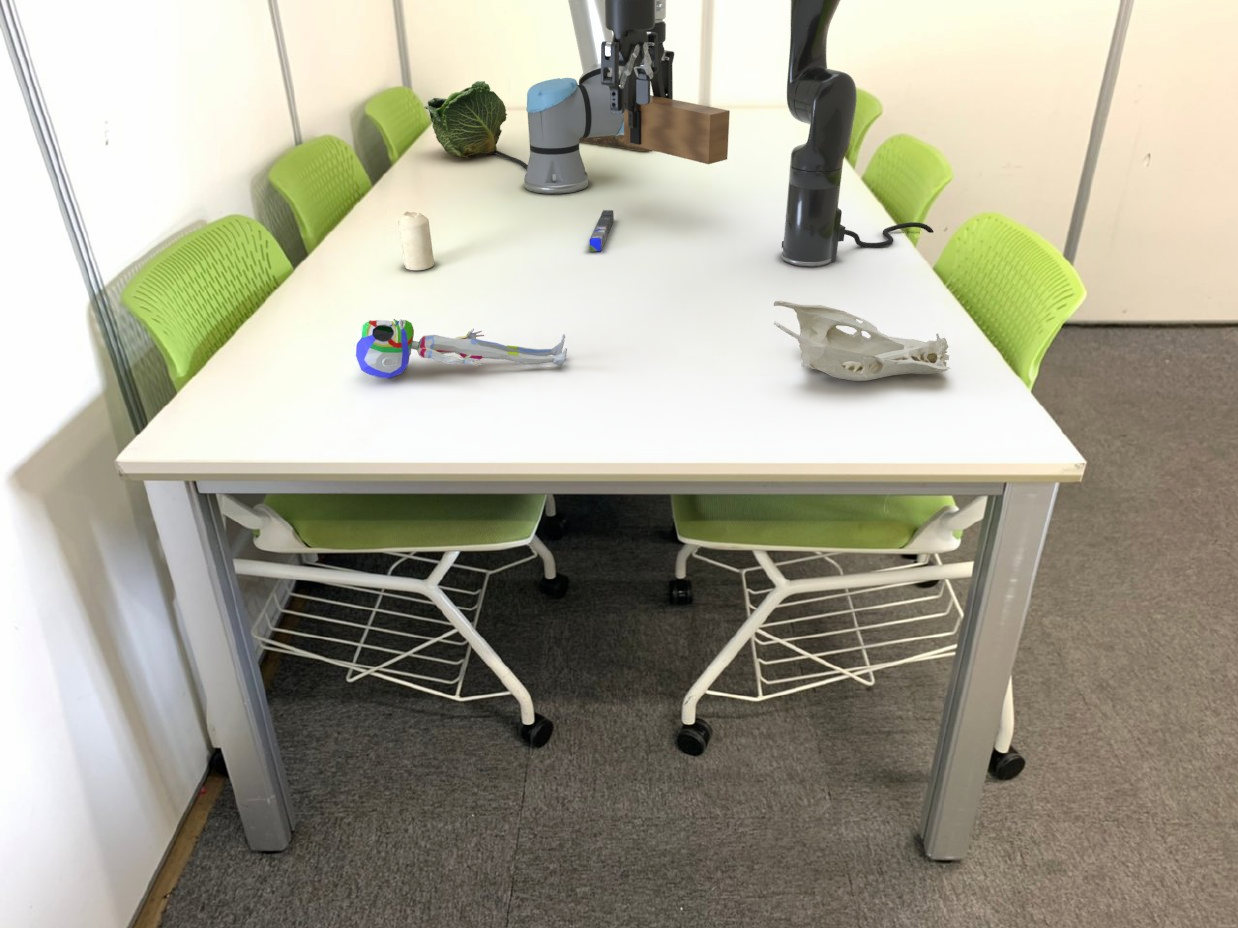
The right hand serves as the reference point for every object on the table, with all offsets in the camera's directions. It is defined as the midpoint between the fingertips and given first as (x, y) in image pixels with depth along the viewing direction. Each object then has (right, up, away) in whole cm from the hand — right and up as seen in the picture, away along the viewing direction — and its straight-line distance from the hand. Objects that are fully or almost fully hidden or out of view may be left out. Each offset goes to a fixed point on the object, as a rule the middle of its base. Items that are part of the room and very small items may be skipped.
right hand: (630, 108), depth 142 cm
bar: (+10, +9, +44) cm, 46 cm away
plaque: (+2, +38, +117) cm, 123 cm away
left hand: (+4, +13, +49) cm, 51 cm away
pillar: (-5, -10, +41) cm, 42 cm away
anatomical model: (+32, -43, -13) cm, 55 cm away
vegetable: (-42, +27, +100) cm, 112 cm away
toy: (-25, -42, -10) cm, 50 cm away
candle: (-40, -19, +27) cm, 52 cm away
